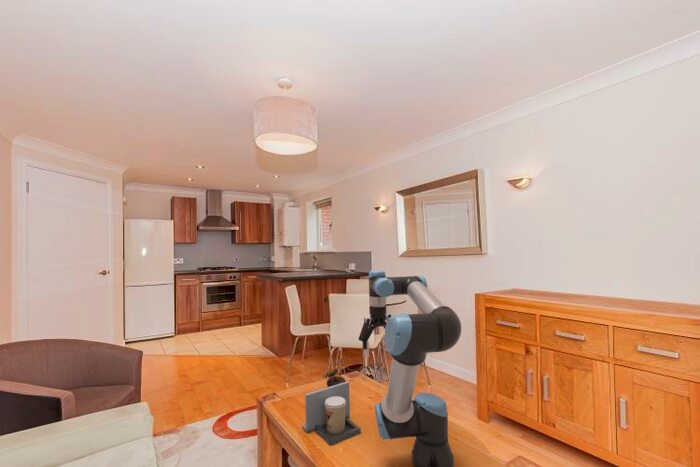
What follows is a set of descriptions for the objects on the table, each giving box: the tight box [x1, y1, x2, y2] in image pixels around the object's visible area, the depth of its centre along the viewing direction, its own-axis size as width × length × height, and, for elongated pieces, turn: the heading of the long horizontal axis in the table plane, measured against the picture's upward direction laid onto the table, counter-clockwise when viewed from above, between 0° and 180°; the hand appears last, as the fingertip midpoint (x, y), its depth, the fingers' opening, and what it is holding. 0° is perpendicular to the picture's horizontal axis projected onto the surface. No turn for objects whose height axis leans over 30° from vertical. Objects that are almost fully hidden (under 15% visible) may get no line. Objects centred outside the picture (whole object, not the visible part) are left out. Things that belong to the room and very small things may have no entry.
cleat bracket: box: [315, 417, 362, 446], centre depth 144 cm, size 14×15×2 cm
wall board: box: [301, 381, 351, 434], centre depth 152 cm, size 5×22×16 cm, turn 124°
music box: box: [321, 367, 347, 387], centre depth 166 cm, size 15×11×20 cm
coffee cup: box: [324, 396, 346, 434], centre depth 146 cm, size 9×9×12 cm
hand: (378, 353), depth 149 cm, fingers open, 13 cm apart
